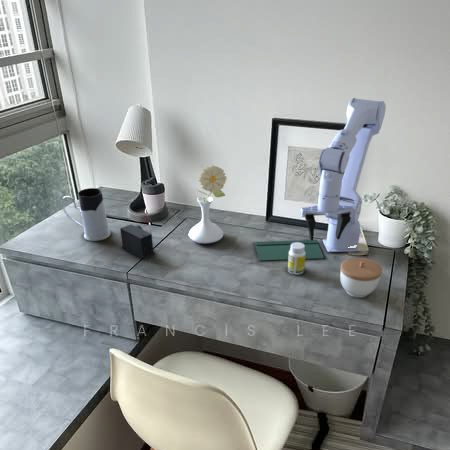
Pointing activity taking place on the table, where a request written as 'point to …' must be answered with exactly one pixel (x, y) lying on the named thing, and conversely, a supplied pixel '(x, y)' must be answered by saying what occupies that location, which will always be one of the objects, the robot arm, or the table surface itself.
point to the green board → (286, 250)
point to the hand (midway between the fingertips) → (324, 238)
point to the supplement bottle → (296, 258)
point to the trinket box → (360, 276)
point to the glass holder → (91, 214)
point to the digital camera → (137, 240)
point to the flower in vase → (206, 229)
